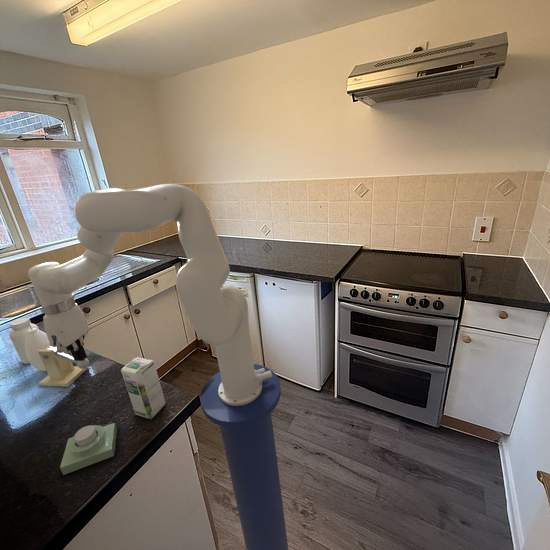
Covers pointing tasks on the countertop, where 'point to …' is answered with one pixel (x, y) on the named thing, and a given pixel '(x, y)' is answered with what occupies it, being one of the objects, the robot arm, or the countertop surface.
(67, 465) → the green push button base
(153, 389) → the syrup box
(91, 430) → the white round push button
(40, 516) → the countertop surface
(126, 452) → the countertop surface
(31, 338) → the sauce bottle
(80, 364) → the flush lever
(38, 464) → the countertop surface
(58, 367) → the lever bracket
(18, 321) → the pill bottle
